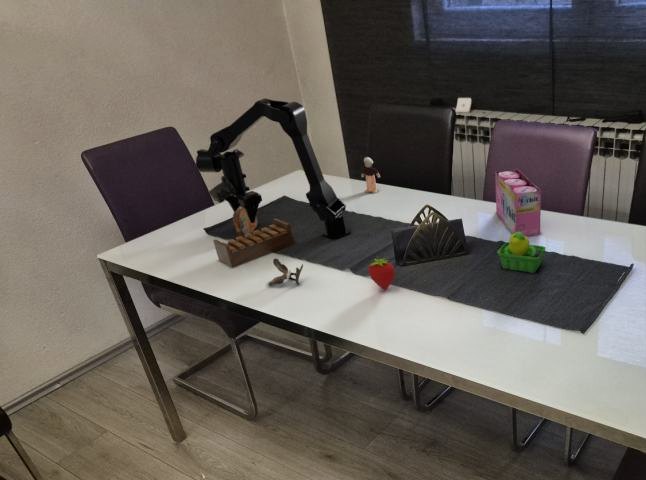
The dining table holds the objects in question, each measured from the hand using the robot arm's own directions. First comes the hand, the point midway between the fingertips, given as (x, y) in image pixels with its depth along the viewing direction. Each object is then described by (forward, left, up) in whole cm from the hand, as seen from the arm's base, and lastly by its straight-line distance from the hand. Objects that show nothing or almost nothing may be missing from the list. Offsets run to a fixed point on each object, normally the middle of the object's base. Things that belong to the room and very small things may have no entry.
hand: (245, 219), depth 194 cm
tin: (0, 0, -4) cm, 4 cm away
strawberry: (-69, -1, -4) cm, 69 cm away
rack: (-18, +7, -4) cm, 20 cm away
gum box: (-68, -56, -4) cm, 88 cm away
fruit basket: (-89, -32, -4) cm, 95 cm away
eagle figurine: (-44, +13, -4) cm, 46 cm away
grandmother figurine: (-4, -49, -4) cm, 49 cm away
